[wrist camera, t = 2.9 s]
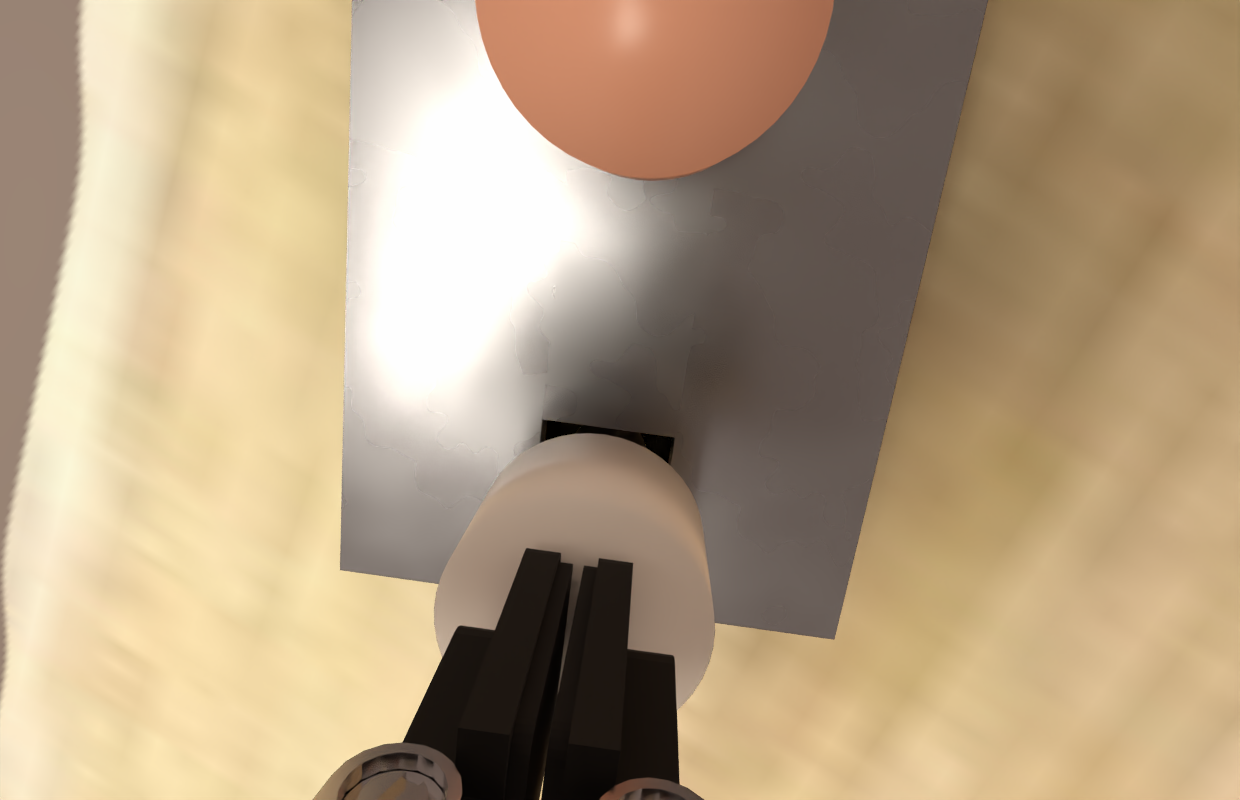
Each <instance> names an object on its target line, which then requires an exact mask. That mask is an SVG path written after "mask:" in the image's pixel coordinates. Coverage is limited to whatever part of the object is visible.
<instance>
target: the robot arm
mask: <svg viewBox="0 0 1240 800" xmlns="http://www.w3.org/2000/svg"><path fill="white" fill-rule="evenodd" d="M572 572H573V564H570V563H563V562H561V553H559V552H552V551H545V550H537V549H530V548H526V550H525V552H524V554H523V557H522V560H521V562H520V565H519V568H518V570H517V573H516V576H515V578H514V581H513V583H512V586H511V589H510V591H509V594H508V597H507V599H506V602H505V605H504V607H503V610H502V613H501V615H500V618H499V621H498V623H497V626H496V628H495V630H490V629H483V628H476V627H469V626H462V625H460V626H458V627H457V629H456V630H455V632H454V634H453V636H452V638H451V640H450V643H449V645H448V647H447V649H446V651H445V653H444V655H443V657H442V660H441V662H440V664H439V666H438V668H437V670H436V672H435V675H434V677H433V679H432V681H431V683H430V685H429V687H428V689H427V692H426V694H425V696H424V698H423V700H422V702H421V704H420V706H419V709H418V711H417V713H416V715H415V717H414V719H413V721H412V724H411V726H410V728H409V730H408V732H407V734H406V736H405V738H404V741H403V743H394V744H384V745H381V746H378V747H374V748H371V749H368V750H365V751H363V752H361V753H359V754H358V755H356V756H354V757H353V758H351V759H349V760H347V761H346V762H345V763H344V764H343V765H342V766H341V767H340V768H339V769H338V770H337V771H336V772H334V773H333V774H332V775H331V777H330V778H329V779H328V781H327V782H326V783H325V784H324V786H323V787H322V788H321V790H320V791H319V792H318V793H317V795H316V796H315V797H314V799H313V800H539V797H540V792H541V787H542V782H543V777H544V782H543V790H542V798H541V800H704V799H702V798H701V797H700V796H698V795H697V794H695V793H694V792H693V791H691V790H690V789H688V788H687V787H684V786H682V785H679V759H678V731H677V703H676V676H675V658H674V656H673V655H668V654H661V653H654V652H646V651H639V650H632V649H627V648H628V633H629V619H630V604H631V589H632V575H633V563H631V562H624V561H616V560H609V559H602V558H599V561H598V567H592V566H585V565H584V568H583V572H582V577H581V582H580V587H579V592H578V597H577V602H576V607H575V612H574V617H573V622H572V627H571V632H570V637H569V642H568V647H567V652H566V657H565V661H564V666H563V671H562V676H561V681H560V686H559V679H560V671H561V663H562V655H563V646H564V638H565V630H566V622H567V613H568V605H569V597H570V589H571V580H572ZM558 688H559V691H558ZM544 772H545V773H544Z"/></svg>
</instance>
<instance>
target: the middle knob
mask: <svg viewBox="0 0 1240 800" xmlns="http://www.w3.org/2000/svg"><path fill="white" fill-rule="evenodd" d="M833 3H834V0H475V4H476V13H477V19H478V24H479V28H480V32H481V37H482V41H483V44H484V47H485V50H486V52H487V55H488V58H489V61H490V64H491V66H492V68H493V70H494V72H495V74H496V76H497V78H498V80H499V82H500V84H501V86H502V88H503V89H504V91H505V92H506V94H507V95H508V97H509V98H510V100H511V102H512V103H513V105H514V106H515V108H516V109H517V110H518V111H519V112H520V113H521V114H522V116H523V117H524V118H525V119H526V120H527V121H528V123H529V124H530V125H531V126H532V127H533V128H534V129H535V130H537V131H538V132H539V133H540V134H541V135H542V136H543V137H544V138H545V139H547V140H548V141H549V142H550V143H552V144H553V145H555V146H556V147H558V148H559V149H561V150H562V151H564V152H565V153H566V154H568V155H570V156H572V157H574V158H576V159H578V160H580V161H582V162H584V163H586V164H588V165H591V166H593V167H595V168H598V169H600V170H602V171H605V172H608V173H611V174H614V175H616V176H619V177H624V178H629V179H634V180H644V181H661V180H672V179H676V178H681V177H686V176H689V175H692V174H695V173H697V172H700V171H703V170H705V169H707V168H709V167H711V166H713V165H715V164H717V163H719V162H721V161H722V160H724V159H726V158H728V157H730V156H732V155H733V154H735V153H737V152H739V151H740V150H742V149H743V148H744V147H746V146H747V145H749V144H750V143H752V142H753V141H755V140H756V139H757V138H758V137H760V136H761V135H762V134H763V133H764V132H765V131H766V130H767V129H769V128H770V127H771V126H772V125H773V124H774V123H775V122H776V121H777V120H778V119H779V118H780V116H781V115H782V114H783V113H784V112H785V111H786V110H787V108H788V107H789V106H790V105H791V104H792V102H793V101H794V99H795V98H796V96H797V95H798V93H799V92H800V90H801V89H802V87H803V86H804V84H805V83H806V81H807V79H808V77H809V75H810V73H811V71H812V69H813V67H814V65H815V64H816V62H817V59H818V57H819V54H820V51H821V49H822V46H823V43H824V41H825V38H826V35H827V31H828V27H829V23H830V19H831V15H832V11H833Z"/></svg>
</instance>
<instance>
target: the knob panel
mask: <svg viewBox="0 0 1240 800" xmlns="http://www.w3.org/2000/svg"><path fill="white" fill-rule="evenodd" d="M987 2H988V0H834V3H833V11H832V15H831V19H830V23H829V27H828V31H827V35H826V38H825V41H824V43H823V46H822V49H821V51H820V54H819V57H818V59H817V62H816V64H815V65H814V67H813V69H812V71H811V73H810V75H809V77H808V79H807V81H806V83H805V84H804V86H803V87H802V89H801V90H800V92H799V93H798V95H797V96H796V98H795V99H794V101H793V102H792V104H791V105H790V106H789V107H788V108H787V110H786V111H785V112H784V113H783V114H782V115H781V116H780V118H779V119H778V120H777V121H776V122H775V123H774V124H773V125H772V126H771V127H770V128H769V129H767V130H766V131H765V132H764V133H763V134H762V135H761V136H760V137H758V138H757V139H756V140H755V141H753V142H752V143H750V144H749V145H747V146H746V147H744V148H743V149H742V150H740V151H739V152H737V153H735V154H733V155H732V156H730V157H728V158H726V159H724V160H722V161H721V162H719V163H717V164H715V165H713V166H711V167H709V168H707V169H705V170H703V171H700V172H697V173H695V174H692V175H689V176H686V177H681V178H676V179H672V180H661V181H644V180H634V179H629V178H624V177H619V176H616V175H614V174H611V173H608V172H605V171H602V170H600V169H598V168H595V167H593V166H591V165H588V164H586V163H584V162H582V161H580V160H578V159H576V158H574V157H572V156H570V155H568V154H566V153H565V152H564V151H562V150H561V149H559V148H558V147H556V146H555V145H553V144H552V143H550V142H549V141H548V140H547V139H545V138H544V137H543V136H542V135H541V134H540V133H539V132H538V131H537V130H535V129H534V128H533V127H532V126H531V125H530V124H529V123H528V121H527V120H526V119H525V118H524V117H523V116H522V114H521V113H520V112H519V111H518V110H517V109H516V108H515V106H514V105H513V103H512V102H511V100H510V98H509V97H508V95H507V94H506V92H505V91H504V89H503V88H502V86H501V84H500V82H499V80H498V78H497V76H496V74H495V72H494V70H493V68H492V66H491V64H490V61H489V58H488V55H487V52H486V50H485V47H484V44H483V41H482V37H481V32H480V28H479V24H478V19H477V13H476V4H475V0H352V29H351V77H350V124H349V172H348V220H347V267H346V315H345V363H344V410H343V458H342V506H341V553H340V570H343V571H350V572H358V573H365V574H372V575H379V576H386V577H393V578H400V579H407V580H414V581H422V582H429V583H436V584H439V582H440V578H441V576H442V573H443V571H444V569H445V567H446V565H447V563H448V561H449V559H450V557H451V556H452V554H453V552H454V550H455V549H456V547H457V545H458V543H459V542H460V540H461V538H462V536H463V535H464V533H465V531H466V530H467V528H468V526H469V524H470V523H471V521H472V519H473V517H474V516H475V514H476V512H477V510H478V509H479V507H480V505H481V503H482V502H483V500H484V498H485V497H486V495H487V493H488V491H489V490H490V488H491V486H492V485H493V483H494V482H495V480H496V479H497V477H498V476H499V474H500V473H501V472H502V471H503V470H504V469H505V467H506V466H507V465H508V464H509V463H510V462H512V461H513V460H514V459H515V458H516V457H517V456H519V455H520V454H522V453H523V452H525V451H526V450H528V449H529V448H531V447H533V446H535V445H537V444H540V443H542V442H544V441H545V437H546V428H547V420H552V421H559V422H566V423H573V424H581V425H588V426H595V427H603V428H610V429H617V430H625V431H632V432H639V433H647V434H654V435H661V436H668V437H672V442H671V448H670V455H669V461H668V464H669V465H670V466H671V467H672V468H673V469H674V470H675V471H676V472H677V473H678V474H679V475H680V477H681V478H682V479H683V481H684V482H685V484H686V485H687V486H688V488H689V489H690V491H691V493H692V495H693V497H694V499H695V501H696V504H697V507H698V510H699V513H700V516H701V521H702V526H703V533H704V541H705V548H706V556H707V563H708V571H709V579H710V586H711V594H712V602H713V609H714V622H715V623H720V624H727V625H734V626H741V627H749V628H756V629H763V630H770V631H777V632H784V633H791V634H798V635H805V636H813V637H820V638H827V639H835V635H836V630H837V626H838V622H839V618H840V614H841V610H842V605H843V601H844V597H845V593H846V589H847V585H848V580H849V576H850V572H851V568H852V564H853V560H854V556H855V551H856V547H857V543H858V539H859V535H860V531H861V526H862V522H863V518H864V514H865V510H866V506H867V501H868V497H869V493H870V489H871V485H872V481H873V477H874V472H875V468H876V464H877V460H878V456H879V452H880V447H881V443H882V439H883V435H884V431H885V427H886V422H887V418H888V414H889V410H890V406H891V402H892V397H893V393H894V389H895V385H896V381H897V377H898V373H899V368H900V364H901V360H902V356H903V352H904V348H905V343H906V339H907V335H908V331H909V327H910V323H911V318H912V314H913V310H914V306H915V302H916V298H917V293H918V289H919V285H920V281H921V277H922V273H923V269H924V264H925V260H926V256H927V252H928V248H929V244H930V239H931V235H932V231H933V227H934V223H935V219H936V214H937V210H938V206H939V202H940V198H941V194H942V189H943V185H944V181H945V177H946V173H947V169H948V165H949V160H950V156H951V152H952V148H953V144H954V140H955V135H956V131H957V127H958V123H959V119H960V115H961V110H962V106H963V102H964V98H965V94H966V90H967V85H968V81H969V77H970V73H971V69H972V65H973V61H974V56H975V52H976V48H977V44H978V40H979V36H980V31H981V27H982V23H983V19H984V15H985V11H986V6H987Z"/></svg>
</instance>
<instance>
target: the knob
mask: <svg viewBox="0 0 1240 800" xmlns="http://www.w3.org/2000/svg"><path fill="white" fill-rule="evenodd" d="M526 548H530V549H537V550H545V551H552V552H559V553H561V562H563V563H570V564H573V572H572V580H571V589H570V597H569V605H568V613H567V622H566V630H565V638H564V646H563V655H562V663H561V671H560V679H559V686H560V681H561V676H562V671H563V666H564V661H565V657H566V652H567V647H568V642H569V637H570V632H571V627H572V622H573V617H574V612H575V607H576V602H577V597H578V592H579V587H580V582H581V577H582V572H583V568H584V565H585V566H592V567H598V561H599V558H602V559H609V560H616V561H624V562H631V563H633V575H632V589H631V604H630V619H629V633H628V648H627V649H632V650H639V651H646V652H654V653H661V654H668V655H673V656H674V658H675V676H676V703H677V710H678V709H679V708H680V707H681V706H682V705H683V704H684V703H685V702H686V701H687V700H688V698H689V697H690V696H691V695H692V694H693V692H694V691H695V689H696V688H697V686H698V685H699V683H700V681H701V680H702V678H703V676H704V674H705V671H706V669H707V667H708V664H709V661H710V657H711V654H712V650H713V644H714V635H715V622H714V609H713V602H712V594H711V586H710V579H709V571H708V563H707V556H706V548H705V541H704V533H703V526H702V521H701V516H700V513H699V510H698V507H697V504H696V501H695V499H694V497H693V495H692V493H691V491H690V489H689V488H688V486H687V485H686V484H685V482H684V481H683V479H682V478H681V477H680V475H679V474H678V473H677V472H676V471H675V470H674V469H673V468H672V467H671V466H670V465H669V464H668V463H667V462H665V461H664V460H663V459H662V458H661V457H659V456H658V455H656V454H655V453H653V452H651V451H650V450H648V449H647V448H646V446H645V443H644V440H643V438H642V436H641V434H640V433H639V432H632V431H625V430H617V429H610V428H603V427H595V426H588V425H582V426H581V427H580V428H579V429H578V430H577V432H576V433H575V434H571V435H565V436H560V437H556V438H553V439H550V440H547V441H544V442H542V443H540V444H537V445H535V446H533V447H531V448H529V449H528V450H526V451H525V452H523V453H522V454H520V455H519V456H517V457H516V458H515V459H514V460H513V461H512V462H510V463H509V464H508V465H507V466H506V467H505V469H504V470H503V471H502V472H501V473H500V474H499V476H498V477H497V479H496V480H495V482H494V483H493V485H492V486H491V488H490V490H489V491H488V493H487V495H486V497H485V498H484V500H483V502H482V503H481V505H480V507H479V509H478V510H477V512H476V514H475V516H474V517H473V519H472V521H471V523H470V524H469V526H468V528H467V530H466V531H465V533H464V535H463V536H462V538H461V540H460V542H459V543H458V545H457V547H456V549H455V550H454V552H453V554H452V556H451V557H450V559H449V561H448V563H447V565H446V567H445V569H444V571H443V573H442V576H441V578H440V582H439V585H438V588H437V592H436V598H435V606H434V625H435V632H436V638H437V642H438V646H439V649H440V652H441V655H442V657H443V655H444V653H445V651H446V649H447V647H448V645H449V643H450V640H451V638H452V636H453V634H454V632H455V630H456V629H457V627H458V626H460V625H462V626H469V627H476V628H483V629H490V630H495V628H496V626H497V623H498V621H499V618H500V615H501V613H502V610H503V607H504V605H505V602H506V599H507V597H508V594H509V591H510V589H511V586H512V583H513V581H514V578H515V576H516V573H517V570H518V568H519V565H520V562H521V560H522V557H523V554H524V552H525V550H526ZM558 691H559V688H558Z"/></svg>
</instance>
